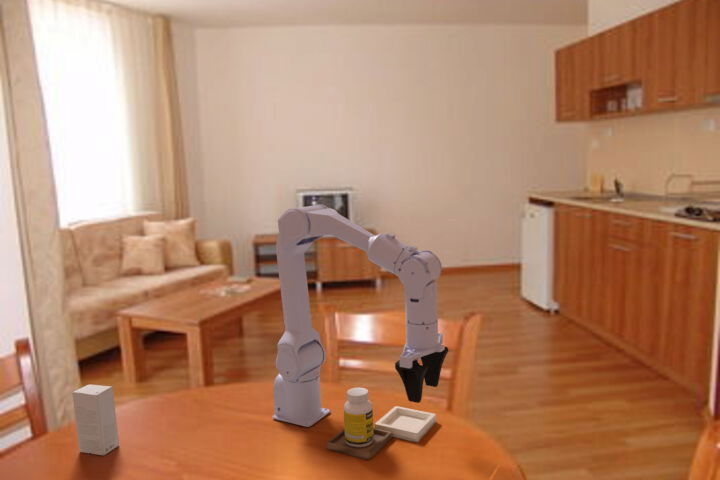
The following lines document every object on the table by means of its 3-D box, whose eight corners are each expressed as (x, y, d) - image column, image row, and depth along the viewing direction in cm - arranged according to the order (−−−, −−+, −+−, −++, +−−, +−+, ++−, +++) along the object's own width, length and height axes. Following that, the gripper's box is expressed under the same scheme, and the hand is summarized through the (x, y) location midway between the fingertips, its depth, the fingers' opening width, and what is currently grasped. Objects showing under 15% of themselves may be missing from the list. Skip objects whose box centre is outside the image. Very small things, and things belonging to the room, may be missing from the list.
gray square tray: (326, 449, 104) (326, 443, 104) (351, 428, 112) (351, 422, 112) (368, 460, 100) (368, 453, 99) (392, 438, 107) (392, 432, 107)
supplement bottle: (371, 449, 102) (368, 398, 101) (342, 447, 104) (339, 396, 102) (376, 435, 108) (374, 386, 106) (348, 433, 109) (346, 385, 107)
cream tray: (375, 432, 110) (374, 423, 109) (395, 414, 117) (395, 405, 117) (417, 442, 105) (417, 433, 105) (436, 422, 113) (436, 414, 113)
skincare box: (120, 445, 109) (114, 386, 107) (103, 456, 105) (96, 395, 103) (95, 441, 111) (88, 383, 109) (78, 452, 107) (71, 392, 105)
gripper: (425, 334, 92) (427, 413, 94) (457, 312, 104) (458, 382, 106) (387, 329, 96) (390, 405, 98) (422, 308, 108) (424, 376, 110)
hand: (423, 393), depth 102 cm, fingers open, 7 cm apart
